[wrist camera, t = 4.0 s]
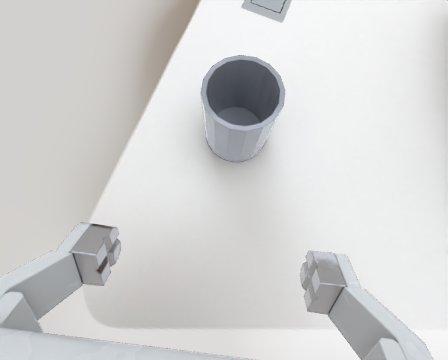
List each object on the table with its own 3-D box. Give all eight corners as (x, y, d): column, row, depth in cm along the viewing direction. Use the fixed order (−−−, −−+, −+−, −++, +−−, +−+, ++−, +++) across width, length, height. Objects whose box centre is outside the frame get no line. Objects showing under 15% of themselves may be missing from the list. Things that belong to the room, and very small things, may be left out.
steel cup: (262, 165, 27) (281, 136, 19) (201, 157, 27) (195, 123, 19) (268, 110, 28) (288, 61, 20) (210, 102, 28) (208, 50, 20)
